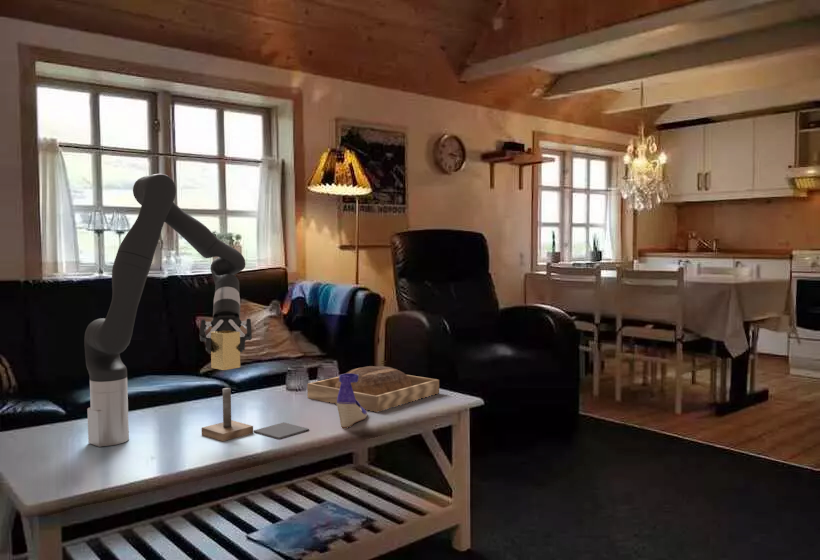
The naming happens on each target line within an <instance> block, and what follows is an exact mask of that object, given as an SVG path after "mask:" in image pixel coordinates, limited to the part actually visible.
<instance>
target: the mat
mask: <svg viewBox="0 0 820 560" xmlns="http://www.w3.org/2000/svg"><path fill="white" fill-rule="evenodd" d="M306 430H309V431H310V428H307V427H304V426H300V425H295V424H292V423H287V422H280V423H275V424H273V425H269V426H266V427H261V428H258V429H253V434H254V433H255V434H258V435H261V434H262V436H265V437H269V438H272V437H273V439H277V440H281V438H282V439H284V438H287V436H289V437H291V436H290V435H292V436H295V435H298V434H297V433H299V434H301V433H300V432H302V433H304V432H303V431H305V432H307V431H306ZM294 434H295V435H294Z"/></svg>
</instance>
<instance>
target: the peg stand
mask: <svg viewBox="0 0 820 560" xmlns="http://www.w3.org/2000/svg"><path fill="white" fill-rule="evenodd" d="M231 391H232V388H231V387H224V388H222V419H223V420H222V422H219V423H214V424H211V425H208V426H204V427H201V435H202V436H205V437H208V438H211V439H214V440H218V441H221V442H224V441H225V442H226V441H228V440H230V441H231V440H233V439H237V438H239V437H240V438H241V437H243V436H247V435H251V434H254V425H251V424H248V423H247V424H246V423H242V422H239V421H236V420H232V392H231Z"/></svg>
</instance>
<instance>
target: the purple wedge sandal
mask: <svg viewBox="0 0 820 560" xmlns="http://www.w3.org/2000/svg"><path fill="white" fill-rule="evenodd" d="M358 376H359V374H357V375H356V374H345V373H342V374H339V376H338V377H339V381H340V382H341V386H340V390H339V393H338V397H337V404H336V408H337V411H338V417H339V422H340V428H341V427H342V428H341V429H344V428H347V427H350V426H352V427H353V425H354V424H356V423H358V422H360V421H363V420H365V418H366V419H367V415H368V410H365V409H364V408H363V407H361V406H360V404H359V402H358V401H357V400H356V399H355V395H354V392H353V389H352V386H351V383H352V382H355V383H356V382H357V381H358ZM358 406H359V407H361V408H359V407H358ZM350 428H351V427H350ZM347 429H348V428H347Z"/></svg>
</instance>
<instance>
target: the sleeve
mask: <svg viewBox="0 0 820 560" xmlns="http://www.w3.org/2000/svg"><path fill="white" fill-rule="evenodd" d="M210 359H211V360H210V363H211V365H210V367H211V368H210V369H216V370H219V371H228V370H233V369H239V368H241V352H240V332H238V331H215V332H211V353H210Z"/></svg>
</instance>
